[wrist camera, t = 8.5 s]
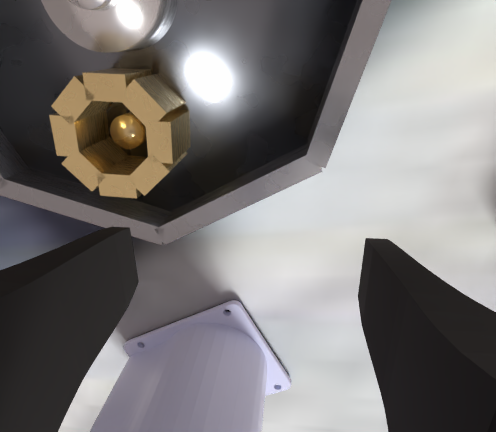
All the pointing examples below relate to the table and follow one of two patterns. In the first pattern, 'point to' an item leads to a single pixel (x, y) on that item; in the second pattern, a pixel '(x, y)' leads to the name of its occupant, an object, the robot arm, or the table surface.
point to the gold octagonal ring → (97, 133)
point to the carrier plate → (184, 98)
